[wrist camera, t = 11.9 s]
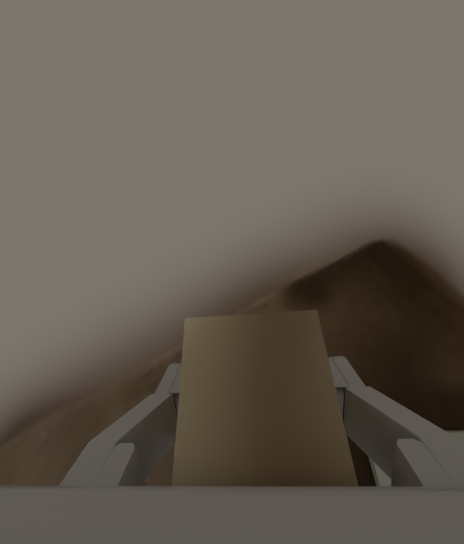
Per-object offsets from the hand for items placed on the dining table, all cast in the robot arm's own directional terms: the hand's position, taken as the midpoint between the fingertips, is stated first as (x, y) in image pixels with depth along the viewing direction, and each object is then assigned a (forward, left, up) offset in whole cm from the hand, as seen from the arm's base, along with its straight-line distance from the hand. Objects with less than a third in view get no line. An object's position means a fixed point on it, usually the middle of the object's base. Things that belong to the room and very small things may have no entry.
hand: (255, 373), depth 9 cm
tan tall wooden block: (0, -1, -5) cm, 5 cm away
